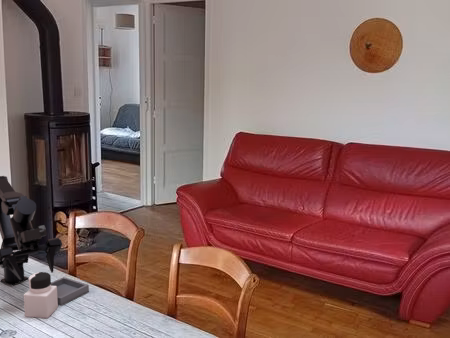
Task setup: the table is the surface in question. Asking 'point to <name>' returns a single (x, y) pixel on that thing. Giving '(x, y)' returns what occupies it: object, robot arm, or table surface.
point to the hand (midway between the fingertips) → (37, 275)
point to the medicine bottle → (40, 296)
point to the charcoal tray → (69, 290)
